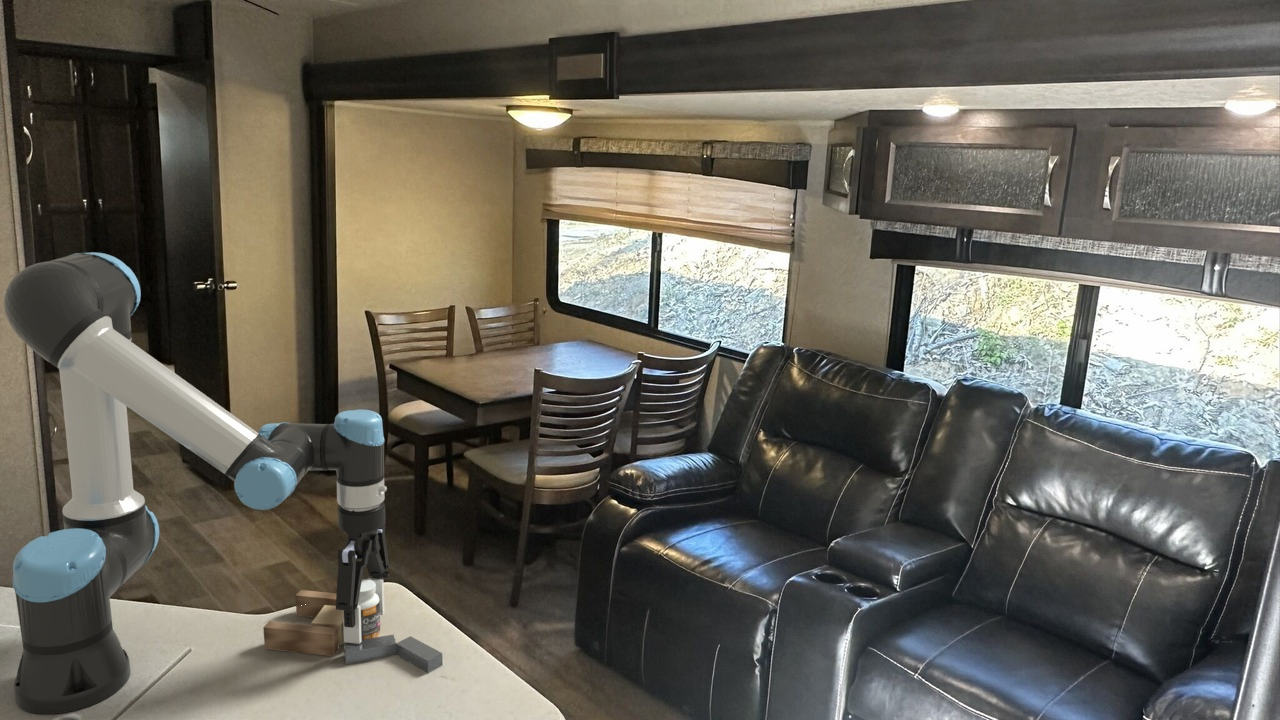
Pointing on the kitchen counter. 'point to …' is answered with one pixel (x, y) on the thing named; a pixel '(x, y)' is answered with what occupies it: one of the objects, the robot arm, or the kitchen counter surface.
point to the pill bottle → (369, 610)
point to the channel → (304, 628)
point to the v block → (394, 651)
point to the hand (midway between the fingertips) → (364, 627)
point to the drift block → (331, 620)
